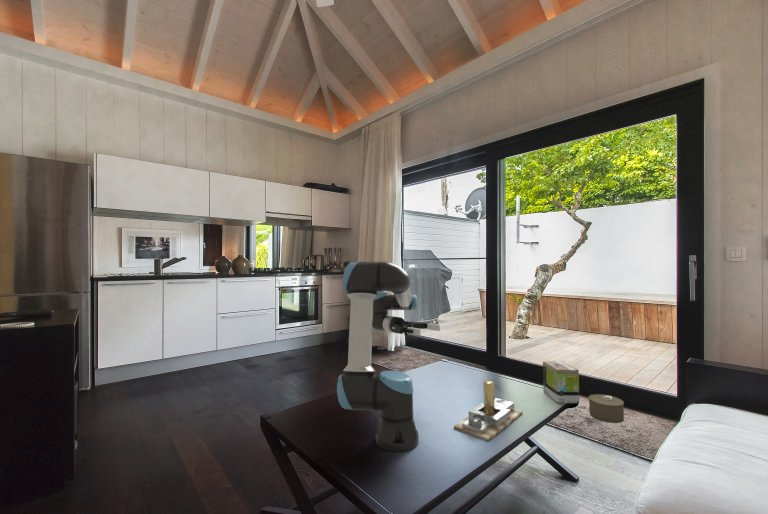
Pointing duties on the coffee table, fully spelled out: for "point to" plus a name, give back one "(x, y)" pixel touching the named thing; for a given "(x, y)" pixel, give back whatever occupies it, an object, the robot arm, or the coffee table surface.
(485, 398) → the pin
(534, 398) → the coffee table surface
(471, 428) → the metal square socket
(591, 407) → the olive round block
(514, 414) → the joining board
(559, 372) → the tea box
